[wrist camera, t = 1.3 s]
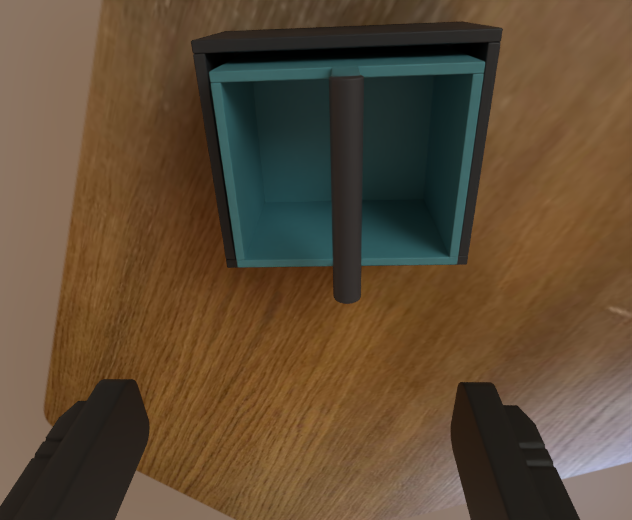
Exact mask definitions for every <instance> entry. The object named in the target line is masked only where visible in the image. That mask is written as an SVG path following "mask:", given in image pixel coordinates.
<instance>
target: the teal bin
mask: <svg viewBox="0 0 632 520" xmlns="http://www.w3.org/2000/svg"><path fill="white" fill-rule="evenodd" d="M484 69H485V62H484V61H482V60H479V59H477V58H474V57H472V56H469V55H467V54H465V53H462V52H460V51H457V50H455V49H452V48H450V47H447V46H445V45H422V46H396V47H370V48H344V49H318V50H292V51H266V52H244V53H242V54H240V55H238V56H237V57H235V58H233V59H231V60H229V61H228V62H226V63H224V64H222V65H221V66H219V67H217V68H215V69H213V70H212V71H210V72H209V76H210V82H211V90H212V97H213V104H214V110H215V117H216V124H217V131H218V137H219V144H220V151H221V158H222V165H223V171H224V178H225V185H226V192H227V198H228V205H229V212H230V219H231V226H232V232H233V239H234V246H235V253H236V259H237V266H238V267H302V266H333V294H334V298H335V300H336V301H338V302H340V303H344V304H350V303H354V302H356V301H358V300H359V299H360V297H361V266H378V265H454V264H457V261H458V254H459V247H460V239H461V232H462V225H463V218H464V211H465V204H466V197H467V190H468V183H469V176H470V168H471V161H472V154H473V147H474V140H475V133H476V126H477V119H478V112H479V104H480V97H481V90H482V83H483V76H484V74H483V73H484Z"/></svg>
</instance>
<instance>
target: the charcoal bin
mask: <svg viewBox="0 0 632 520" xmlns="http://www.w3.org/2000/svg"><path fill="white" fill-rule="evenodd" d="M502 30H503V29H502V28H499V27H492V26H486V25H480V24H474V23H468V22H442V23H418V24H393V25H369V26H344V27H320V28H296V29H271V30H247V31H225V32H221V33H217V34H214V35H210V36H206V37H203V38H199V39H195V40H192V41H191V44H192V51H193V53H194V54H193V57H194V63H195V69H196V76H197V82H198V88H199V94H200V100H201V107H202V113H203V119H204V125H205V131H206V138H207V144H208V150H209V156H210V162H211V169H212V175H213V181H214V187H215V193H216V200H217V206H218V212H219V218H220V225H221V231H222V237H223V243H224V249H225V256H226V262H227V267H228V268H233V267H238V266H237V259H236V253H235V246H234V239H233V232H232V226H231V219H230V212H229V205H228V198H227V192H226V185H225V178H224V171H223V165H222V158H221V151H220V144H219V137H218V131H217V124H216V117H215V110H214V104H213V97H212V90H211V82H210V76H209V72H210V71H212V70H213V69H215V68H217V67H219V66H221V65H222V64H224V63H226V62H228V61H229V60H231V59H233V58H235V57H237V56H238V55H240V54H242V53H244V52H266V51H292V50H318V49H344V48H370V47H396V46H422V45H445V46H447V47H450V48H452V49H455V50H457V51H460V52H462V53H465V54H467V55H469V56H472V57H474V58H477V59H479V60H482V61H484V62H485V69H484V73H483V74H484V76H483V83H482V90H481V97H480V104H479V112H478V119H477V126H476V133H475V140H474V147H473V154H472V161H471V168H470V176H469V183H468V190H467V197H466V204H465V211H464V218H463V225H462V232H461V239H460V247H459V254H458V261H457V264H454V265H460V264H467V259H468V252H469V246H470V239H471V232H472V226H473V219H474V213H475V206H476V200H477V193H478V187H479V180H480V174H481V167H482V161H483V154H484V148H485V141H486V135H487V128H488V122H489V115H490V109H491V102H492V96H493V89H494V83H495V76H496V69H497V63H498V56H499V50H500V41H501V37H502ZM378 266H384V265H378ZM302 267H308V266H302Z"/></svg>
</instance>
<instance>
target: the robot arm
mask: <svg viewBox="0 0 632 520" xmlns="http://www.w3.org/2000/svg"><path fill="white" fill-rule="evenodd" d="M148 437H149V419H148V416H147V413H146V410H145V407H144V404H143V401H142V397H141V394H140V391H139V388H138V385H137V383H136V381H135V380H133V379H103V380H101V381H100V382H99V383H98V384H97V385H96V387H95V388H94V390H93V392H92V393H91V395H90V396H89V398H88V400H87V401H78V402H77V403H75V404H74V405H73V406H72V407H71V408H70V409H69V410H67V411H66V412H65V413H64V414H63V415H62V416H60V417H59V418H58V420H57V421H56V423H55V425H54V426H53V428H52V429H51V431H50V432H49V434H48V435H47V437H46V441H45V442H43V443H42V444H41V446H40V447H39V449H38V450H37V452H36V453H35V457H34V458H32V459H31V461H30V462H29V464H28V465H27V467H26V468H25V470H24V471H23V473H22V474H21V476H20V477H19V479H18V480H17V482H16V483H15V485H14V486H13V488H12V489H11V491H10V492H9V494H8V495H7V497H6V498H5V500H4V501H3V503H2V505H1V506H0V520H115V518H116V516H117V513H118V511H119V508H120V506H121V504H122V501H123V499H124V496H125V494H126V492H127V490H128V487H129V485H130V483H131V480H132V478H133V476H134V473H135V471H136V468H137V466H138V464H139V461H140V459H141V457H142V454H143V452H144V450H145V447H146V445H147V441H148ZM451 442H452V449H453V453H454V457H455V461H456V464H457V468H458V472H459V476H460V480H461V484H462V487H463V491H464V495H465V499H466V503H467V507H468V510H469V514H470V518H471V520H580V519H579V516H578V514H577V512H576V510H575V508H574V506H573V504H572V502H571V499H570V497H569V495H568V493H567V491H566V489H565V487H564V485H563V482H562V480H561V478H560V476H559V474H558V472H557V470H556V468H555V467H554V466H553V461H552V459H551V457H550V455H549V453H548V451H547V449H545V444H544V442H543V440H542V438H541V436H540V434H539V432H538V429H537V427H536V425H535V423H534V422H533V421H532V420H531V419H530V418H529V417H528V416H527V415H526V414H525V413H524V412H523V411H522V410H521V409H520V408H519V407H518V406H517V405H503V404H502V402H501V399H500V397H499V394H498V392H497V390H496V388H495V386H494V384H493V383H491V382H460V383H459V384H458V388H457V393H456V399H455V405H454V410H453V416H452V421H451Z"/></svg>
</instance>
